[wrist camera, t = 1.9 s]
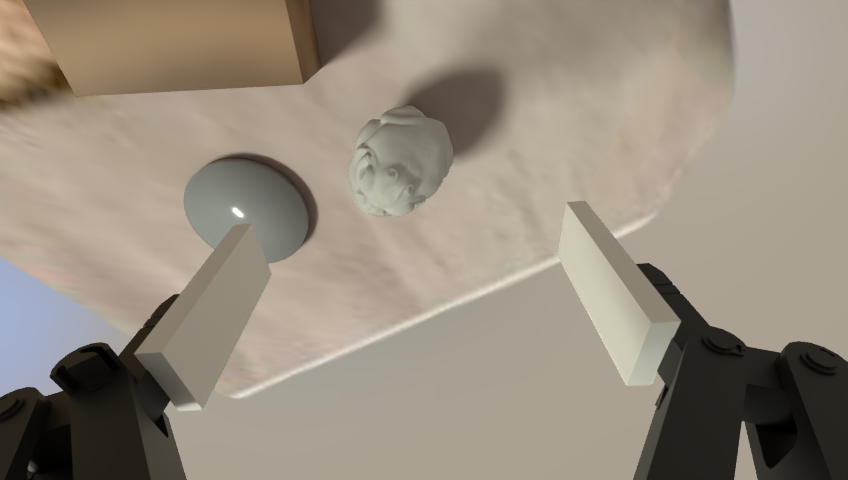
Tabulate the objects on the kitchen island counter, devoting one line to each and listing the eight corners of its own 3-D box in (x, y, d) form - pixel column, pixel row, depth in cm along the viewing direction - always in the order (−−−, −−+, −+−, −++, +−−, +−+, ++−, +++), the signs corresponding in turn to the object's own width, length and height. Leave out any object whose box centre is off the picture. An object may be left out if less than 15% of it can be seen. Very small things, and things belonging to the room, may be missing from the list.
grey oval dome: (167, 162, 26) (161, 167, 26) (291, 153, 26) (288, 157, 26) (216, 261, 32) (212, 267, 31) (320, 254, 31) (318, 260, 31)
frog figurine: (337, 145, 26) (316, 190, 20) (406, 69, 23) (404, 96, 18) (401, 198, 29) (397, 252, 23) (469, 135, 26) (485, 178, 20)
